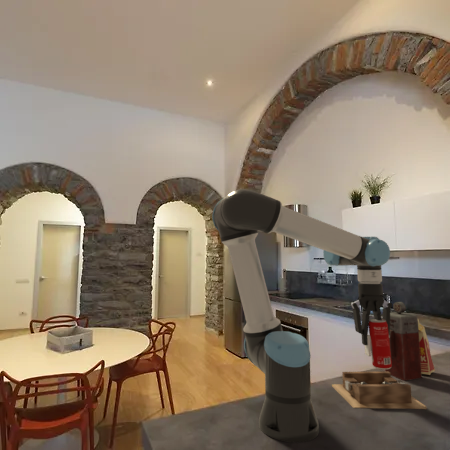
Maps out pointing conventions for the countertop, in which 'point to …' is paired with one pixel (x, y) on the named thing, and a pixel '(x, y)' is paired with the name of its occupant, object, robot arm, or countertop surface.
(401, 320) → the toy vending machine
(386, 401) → the holder
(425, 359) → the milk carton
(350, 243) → the robot arm
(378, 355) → the beverage can
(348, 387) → the plunger
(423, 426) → the countertop surface
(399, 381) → the plunger
